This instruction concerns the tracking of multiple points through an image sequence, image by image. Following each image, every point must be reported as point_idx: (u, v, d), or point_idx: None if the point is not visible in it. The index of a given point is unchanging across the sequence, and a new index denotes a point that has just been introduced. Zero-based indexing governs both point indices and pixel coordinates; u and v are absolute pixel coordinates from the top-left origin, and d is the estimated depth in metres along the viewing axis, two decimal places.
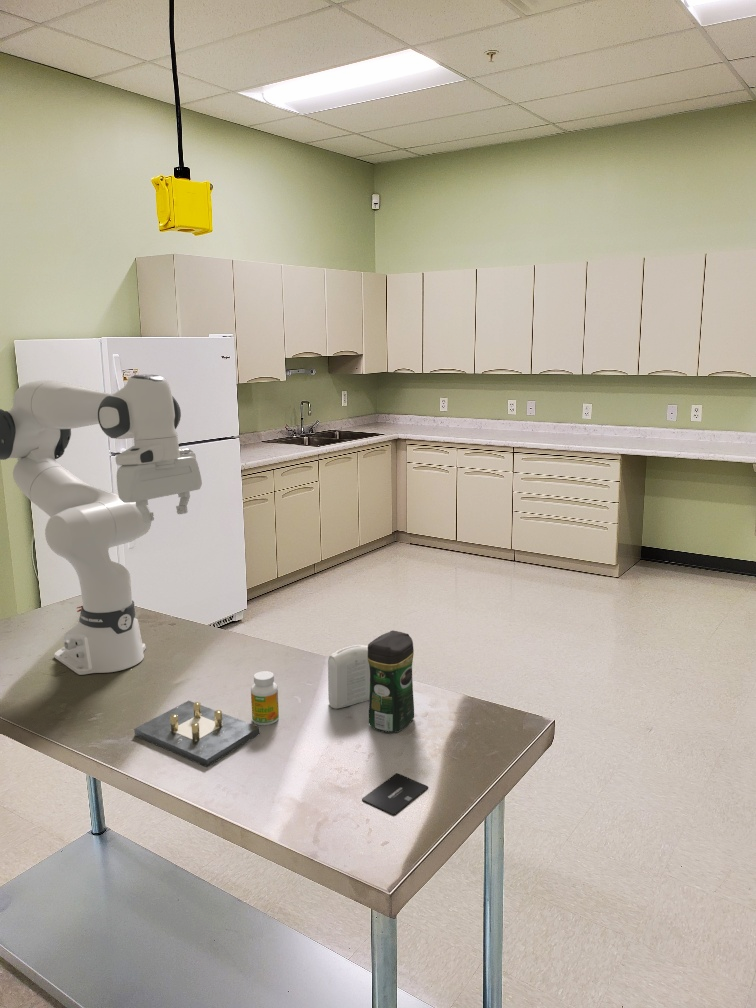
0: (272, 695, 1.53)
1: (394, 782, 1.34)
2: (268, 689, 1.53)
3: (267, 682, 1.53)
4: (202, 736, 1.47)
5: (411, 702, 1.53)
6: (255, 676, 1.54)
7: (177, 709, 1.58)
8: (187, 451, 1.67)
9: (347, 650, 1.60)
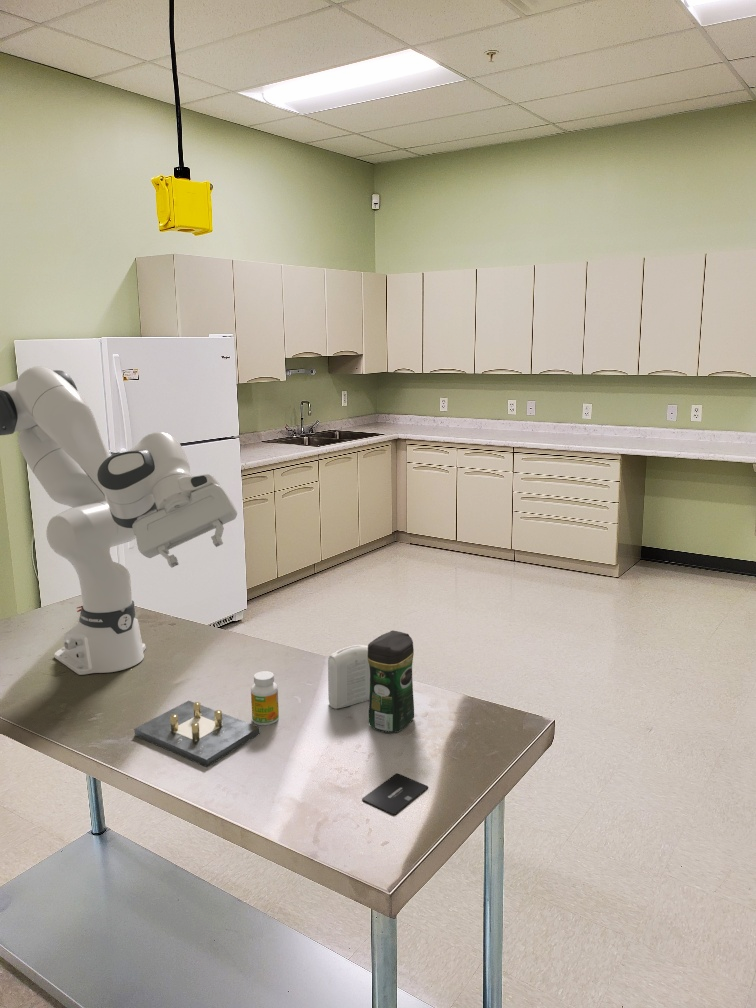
0: (272, 695, 1.53)
1: (394, 782, 1.34)
2: (268, 689, 1.53)
3: (267, 682, 1.53)
4: (202, 736, 1.47)
5: (411, 702, 1.53)
6: (255, 676, 1.54)
7: (177, 709, 1.58)
8: None
9: (347, 650, 1.60)
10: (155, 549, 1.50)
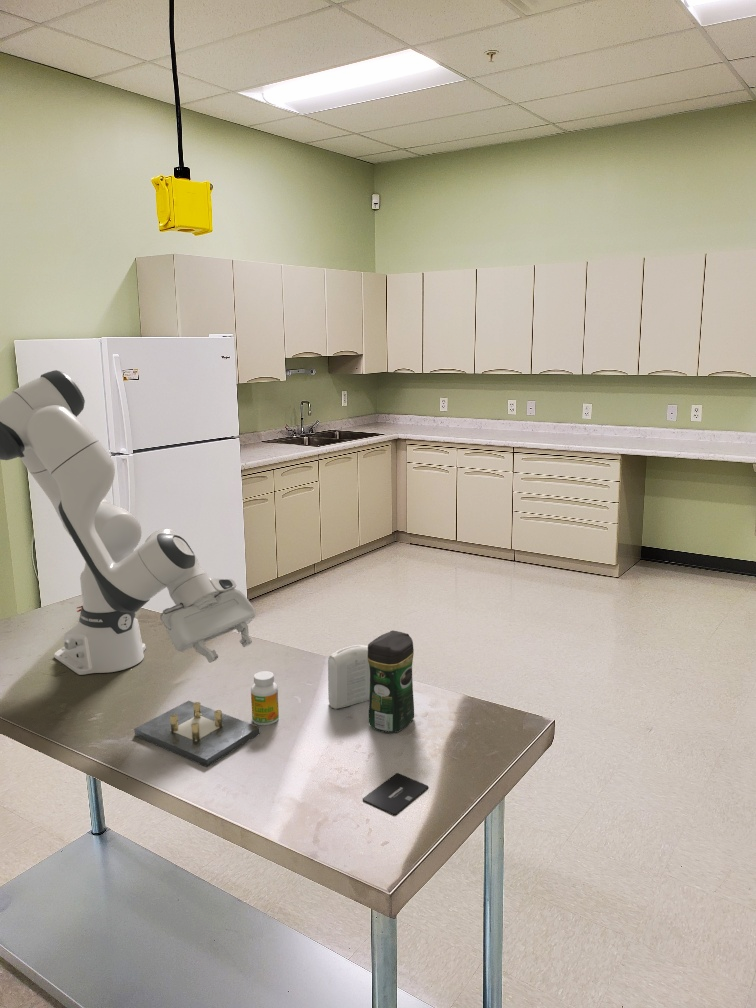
0: (272, 695, 1.53)
1: (394, 782, 1.34)
2: (268, 689, 1.53)
3: (267, 682, 1.53)
4: (202, 736, 1.47)
5: (411, 702, 1.53)
6: (255, 676, 1.54)
7: (177, 709, 1.58)
8: None
9: (347, 650, 1.60)
10: (194, 643, 1.53)
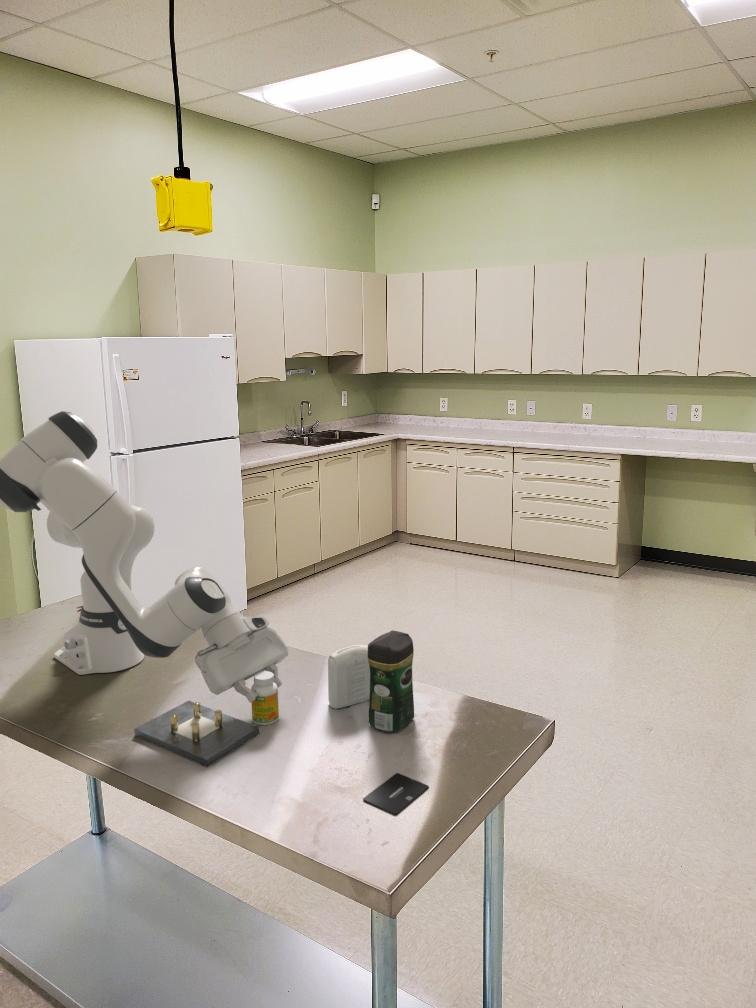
0: (272, 695, 1.53)
1: (395, 782, 1.34)
2: (268, 689, 1.53)
3: (267, 682, 1.53)
4: (202, 736, 1.47)
5: (411, 702, 1.53)
6: (255, 676, 1.54)
7: (177, 709, 1.58)
8: None
9: (347, 650, 1.60)
10: (230, 686, 1.50)
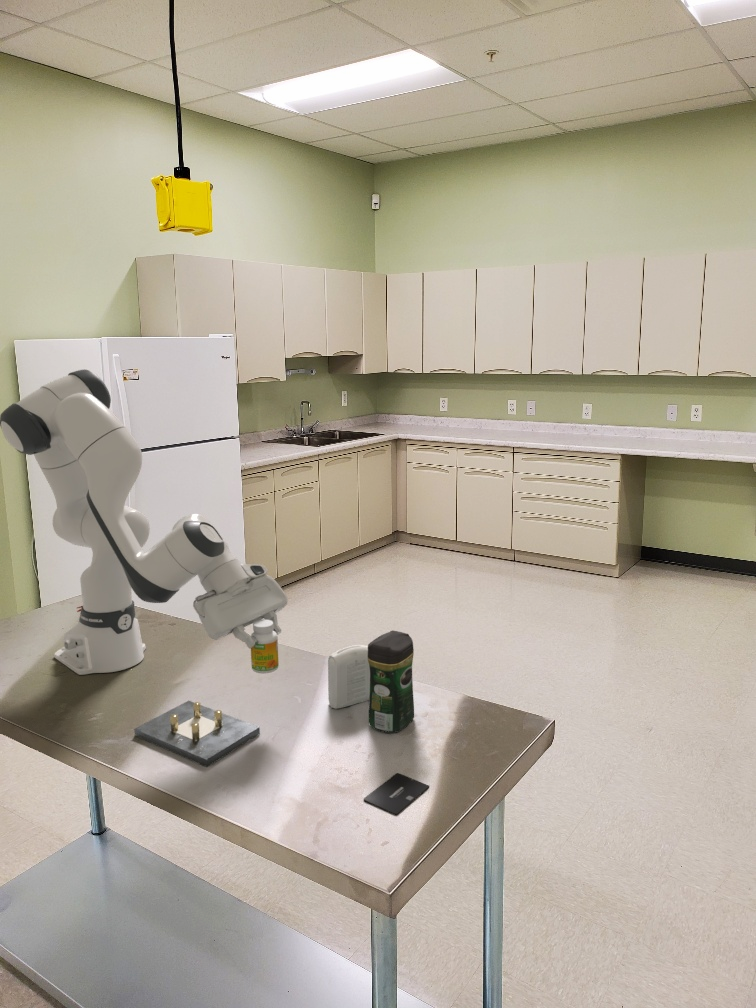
0: (271, 643, 1.51)
1: (395, 782, 1.34)
2: (268, 636, 1.51)
3: (266, 630, 1.51)
4: (202, 736, 1.47)
5: (411, 702, 1.53)
6: (254, 624, 1.52)
7: (177, 709, 1.58)
8: None
9: (347, 650, 1.60)
10: (229, 631, 1.48)
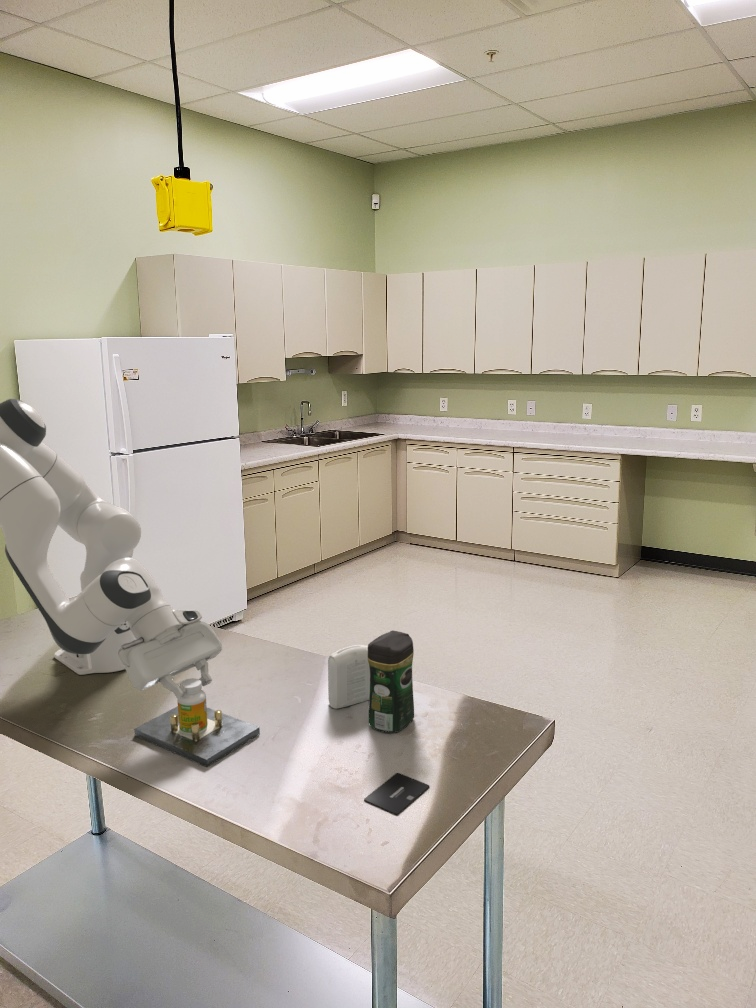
0: (198, 704, 1.46)
1: (395, 782, 1.34)
2: (195, 697, 1.46)
3: (193, 690, 1.46)
4: (202, 736, 1.47)
5: (411, 702, 1.53)
6: (181, 684, 1.47)
7: (177, 709, 1.58)
8: None
9: (347, 650, 1.60)
10: (154, 681, 1.43)
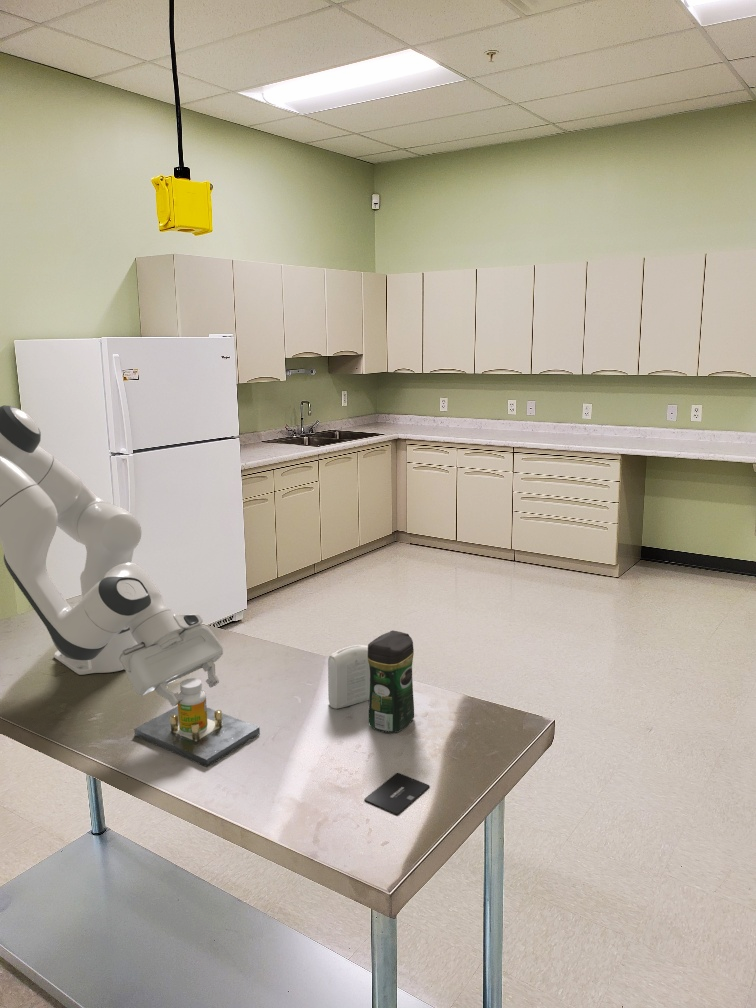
0: (198, 704, 1.46)
1: (395, 782, 1.34)
2: (195, 697, 1.46)
3: (193, 690, 1.46)
4: (202, 736, 1.47)
5: (411, 702, 1.53)
6: (181, 684, 1.47)
7: (177, 709, 1.58)
8: None
9: (347, 650, 1.60)
10: (156, 686, 1.43)
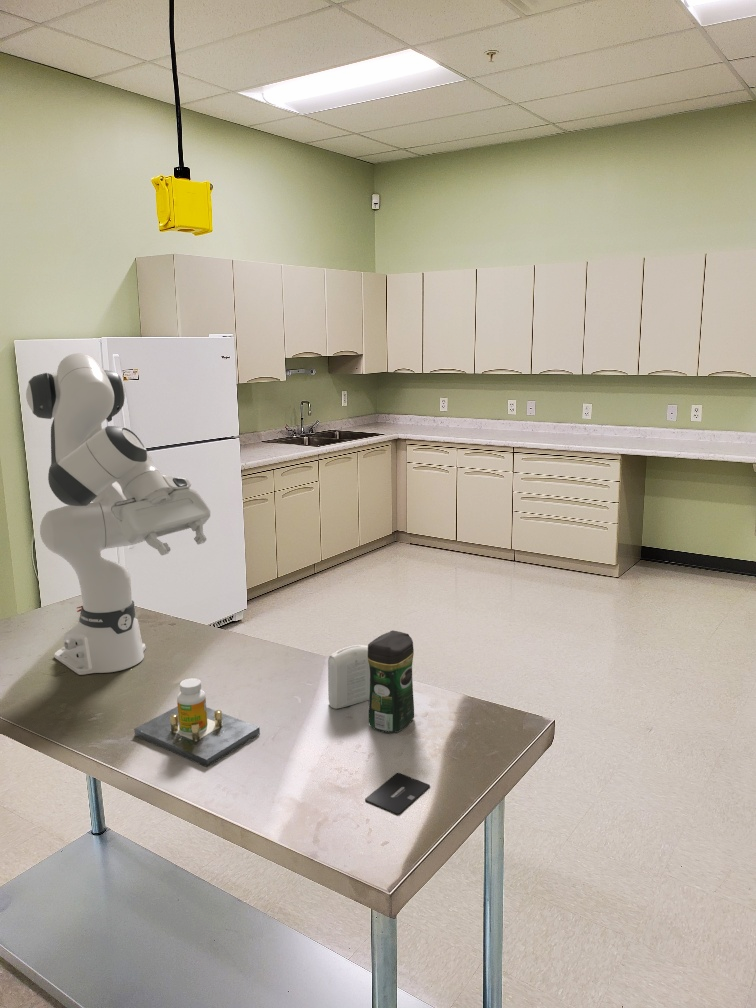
0: (198, 703, 1.47)
1: (396, 781, 1.34)
2: (194, 697, 1.46)
3: (193, 690, 1.46)
4: (202, 736, 1.47)
5: (411, 702, 1.53)
6: (181, 684, 1.47)
7: (177, 709, 1.58)
8: None
9: (347, 650, 1.60)
10: (146, 535, 1.51)
